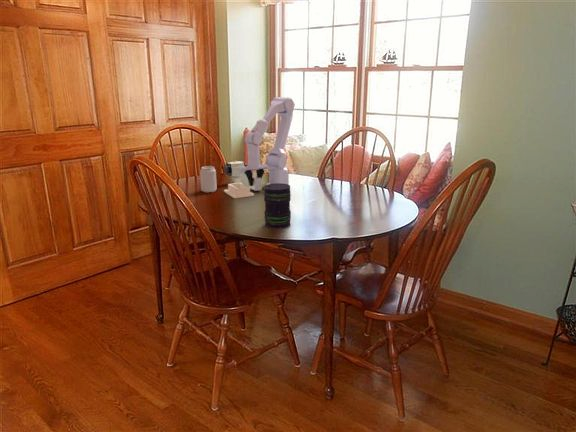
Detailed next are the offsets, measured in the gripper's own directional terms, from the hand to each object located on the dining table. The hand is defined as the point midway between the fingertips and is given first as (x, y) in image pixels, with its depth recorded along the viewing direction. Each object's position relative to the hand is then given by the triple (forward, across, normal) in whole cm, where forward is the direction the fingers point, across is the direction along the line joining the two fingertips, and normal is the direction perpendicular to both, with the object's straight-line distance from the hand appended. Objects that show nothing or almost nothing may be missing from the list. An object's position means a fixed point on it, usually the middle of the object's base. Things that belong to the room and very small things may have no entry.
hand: (254, 185), depth 230 cm
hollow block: (+3, -9, -2) cm, 10 cm away
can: (+3, -20, +10) cm, 23 cm away
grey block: (+2, 0, 0) cm, 2 cm away
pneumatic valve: (+3, -2, +20) cm, 20 cm away
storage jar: (+3, -13, -54) cm, 56 cm away
